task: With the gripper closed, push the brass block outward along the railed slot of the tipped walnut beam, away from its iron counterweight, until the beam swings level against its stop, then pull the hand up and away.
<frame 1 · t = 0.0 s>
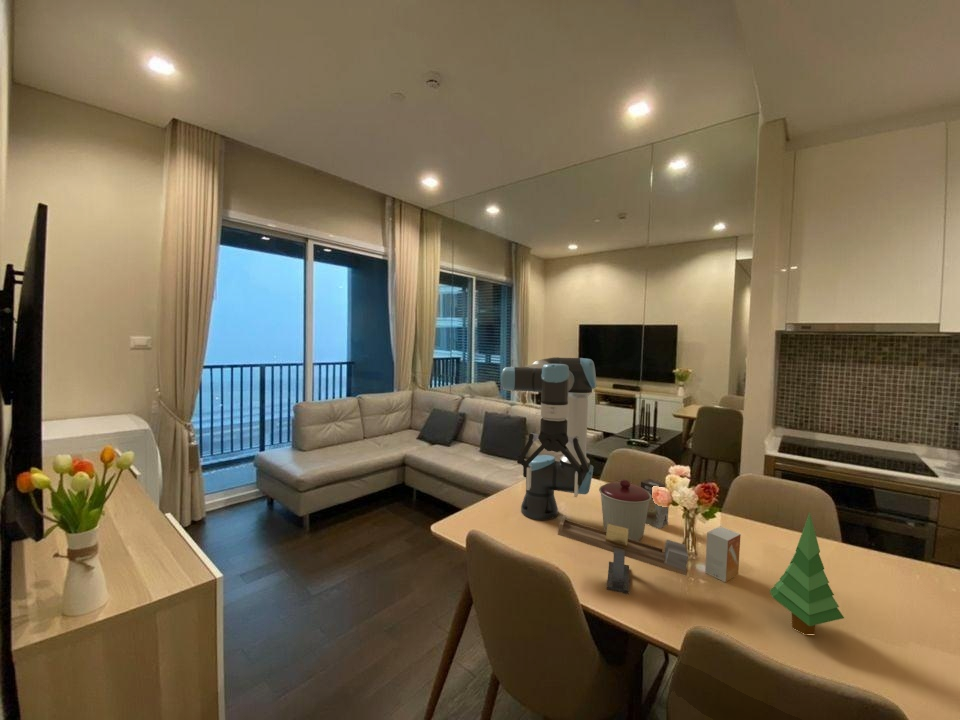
hand: (551, 492, 114), 28 cm above the table, tool pointing down, fingers open, 13 cm apart
small box: (721, 574, 124), on the table
decorative tree: (802, 629, 100), on the table
canister: (623, 536, 147), on the table
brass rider: (616, 542, 120), point 11 cm above the table, touching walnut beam
beam stand: (618, 578, 120), on the table
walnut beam: (620, 540, 120), point 12 cm above the table, hinge at -7.8°, touching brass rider
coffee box: (653, 523, 158), on the table
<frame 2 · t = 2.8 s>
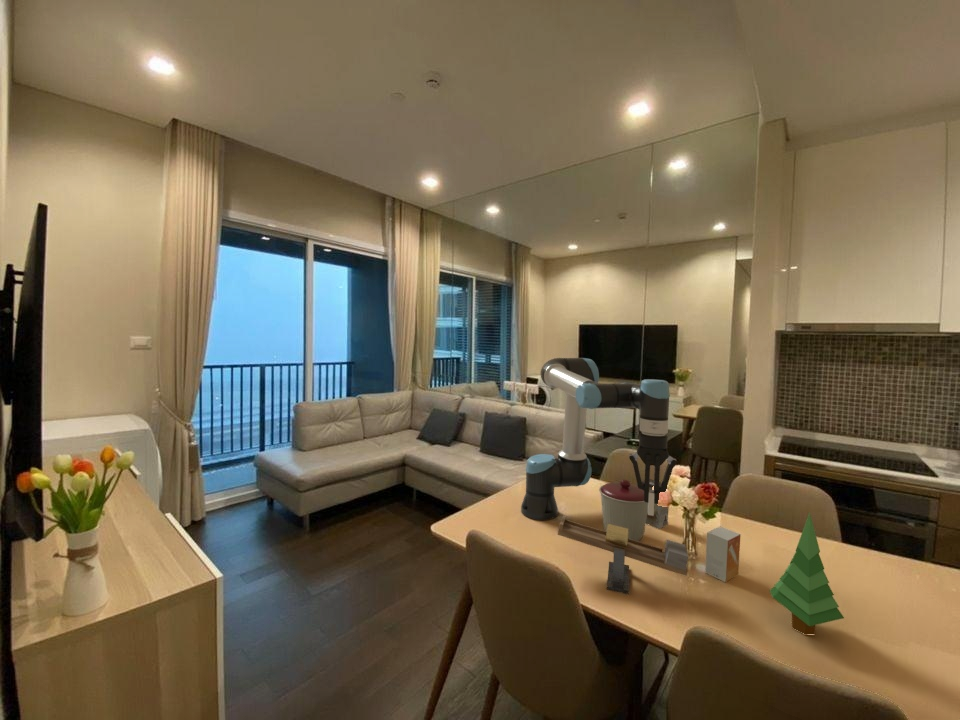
hand: (650, 513, 116), 22 cm above the table, tool pointing down, fingers closed
nothing on the table moved.
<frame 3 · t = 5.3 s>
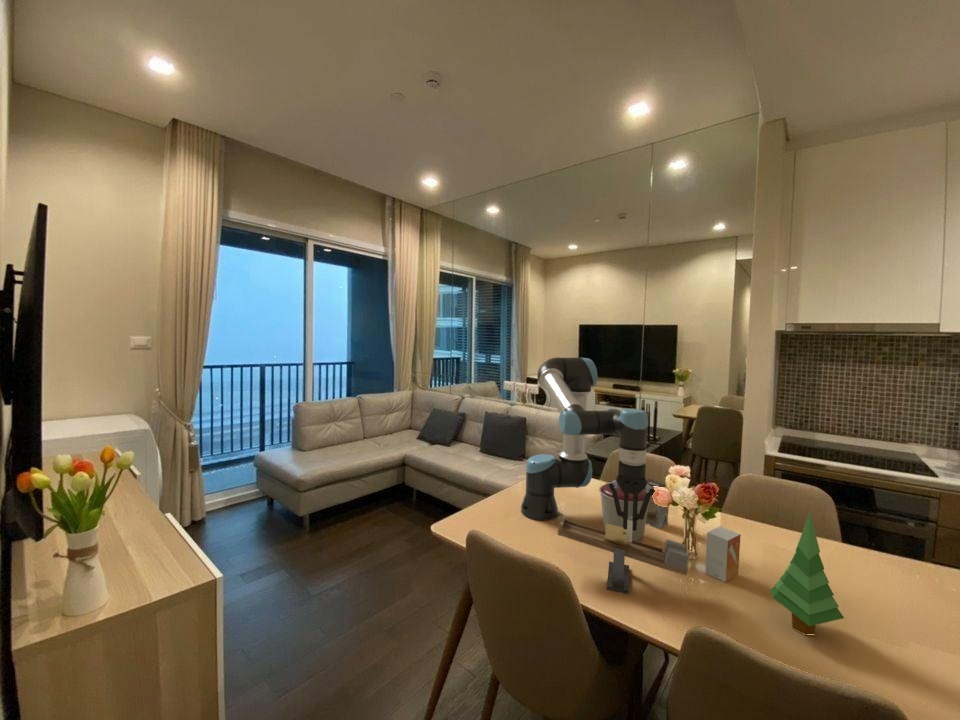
hand: (629, 539, 119), 12 cm above the table, tool pointing down, fingers closed
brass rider: (614, 541, 120), point 11 cm above the table, touching gripper
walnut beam: (620, 540, 120), point 12 cm above the table, hinge at -7.7°
everything else where it was.
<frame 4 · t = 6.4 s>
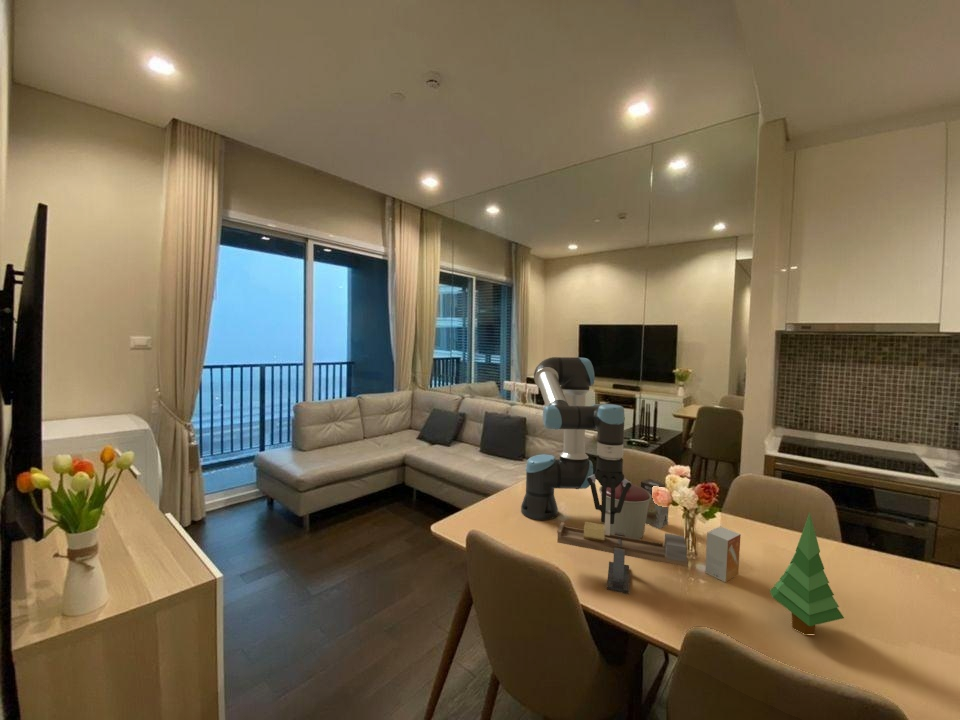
hand: (607, 533, 121), 13 cm above the table, tool pointing down, fingers closed
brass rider: (594, 539, 123), point 11 cm above the table, touching gripper
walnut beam: (619, 540, 120), point 12 cm above the table, hinge at 0.1°
everything else where it was.
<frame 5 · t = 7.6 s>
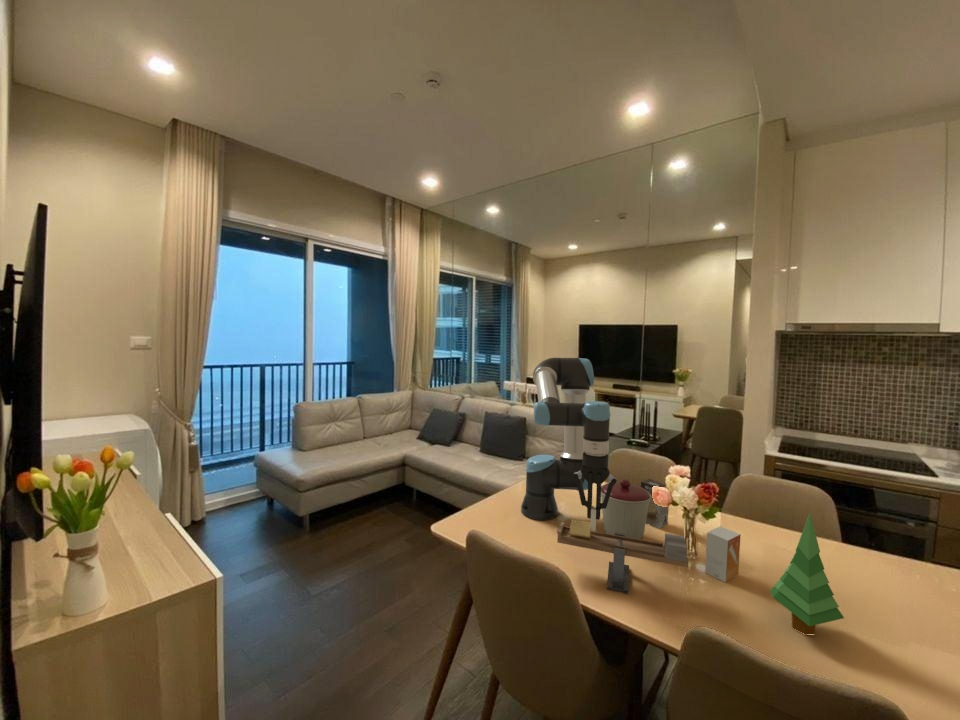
hand: (593, 528, 123), 14 cm above the table, tool pointing down, fingers closed
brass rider: (580, 536, 124), point 11 cm above the table, touching gripper, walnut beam
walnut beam: (619, 540, 120), point 12 cm above the table, hinge at 0.1°, touching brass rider
everything else where it was.
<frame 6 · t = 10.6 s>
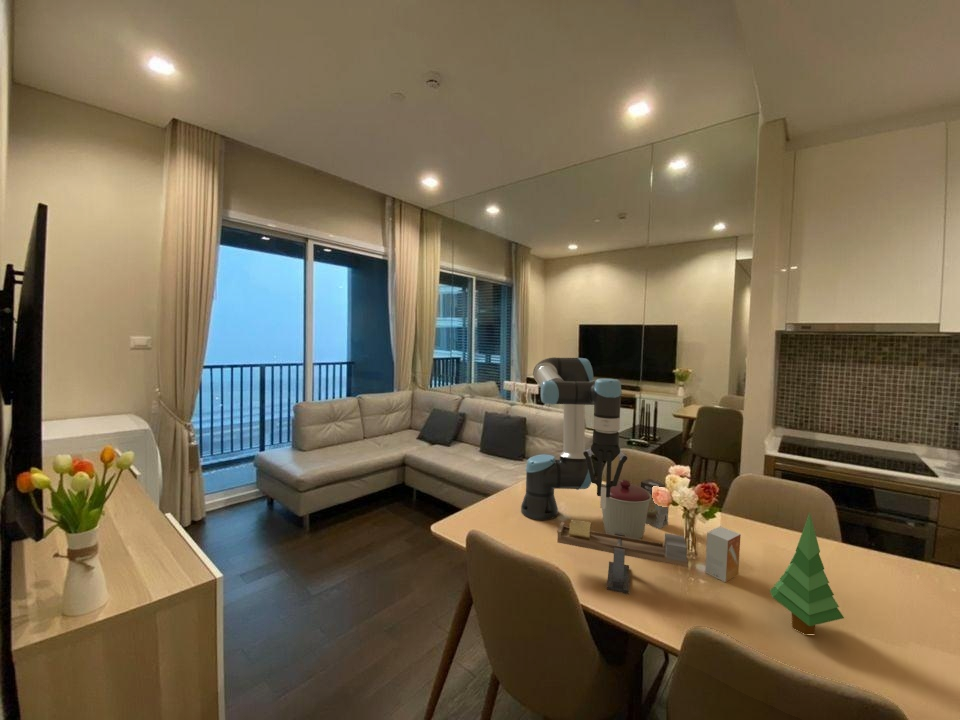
hand: (603, 506, 122), 21 cm above the table, tool pointing down, fingers closed
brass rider: (580, 536, 124), point 11 cm above the table, touching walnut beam
everything else where it was.
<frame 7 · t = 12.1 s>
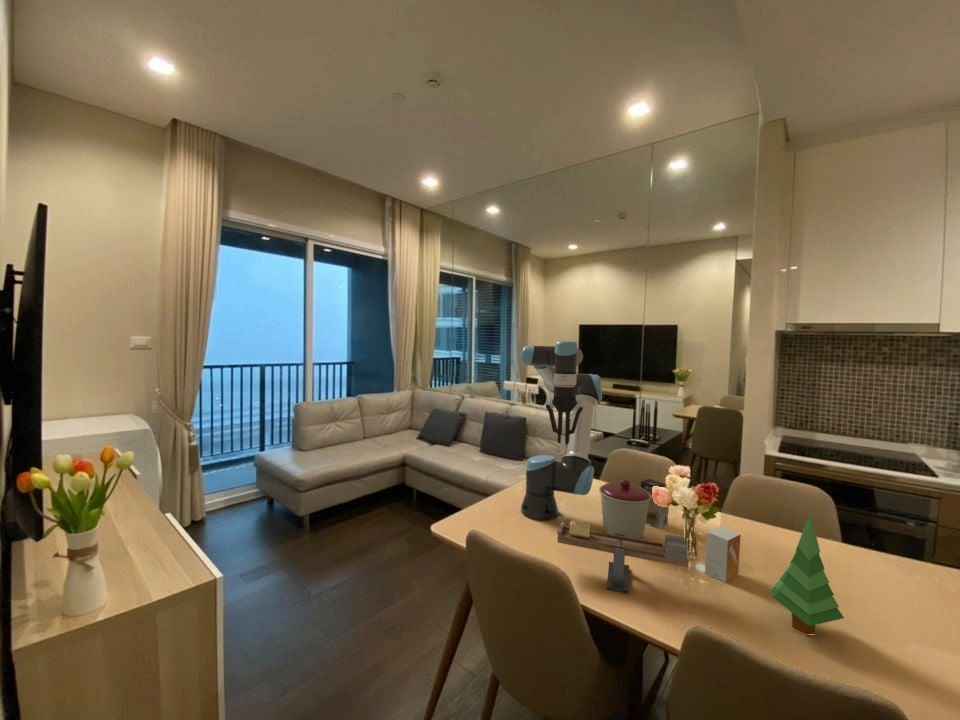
hand: (563, 452, 140), 32 cm above the table, tool pointing down, fingers closed
nothing on the table moved.
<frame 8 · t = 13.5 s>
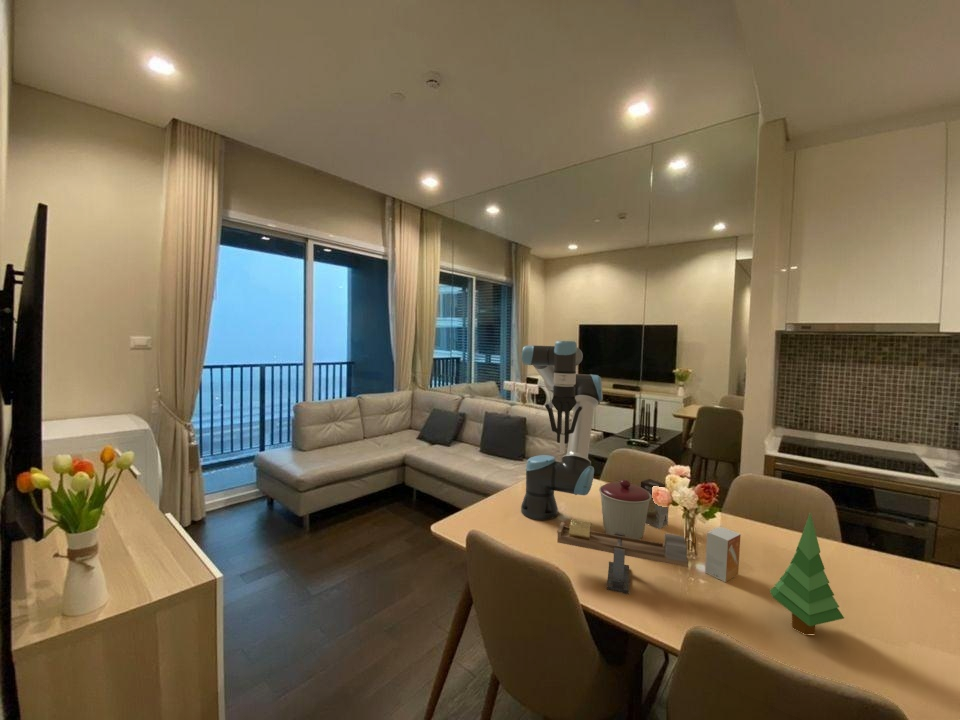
hand: (562, 452, 140), 32 cm above the table, tool pointing down, fingers closed
nothing on the table moved.
at the end: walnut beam at +0° (first picture: -8°); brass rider inside the target area on the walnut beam (0.2 cm from its centre), point 0.7 cm above the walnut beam's base; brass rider tilted 0° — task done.
